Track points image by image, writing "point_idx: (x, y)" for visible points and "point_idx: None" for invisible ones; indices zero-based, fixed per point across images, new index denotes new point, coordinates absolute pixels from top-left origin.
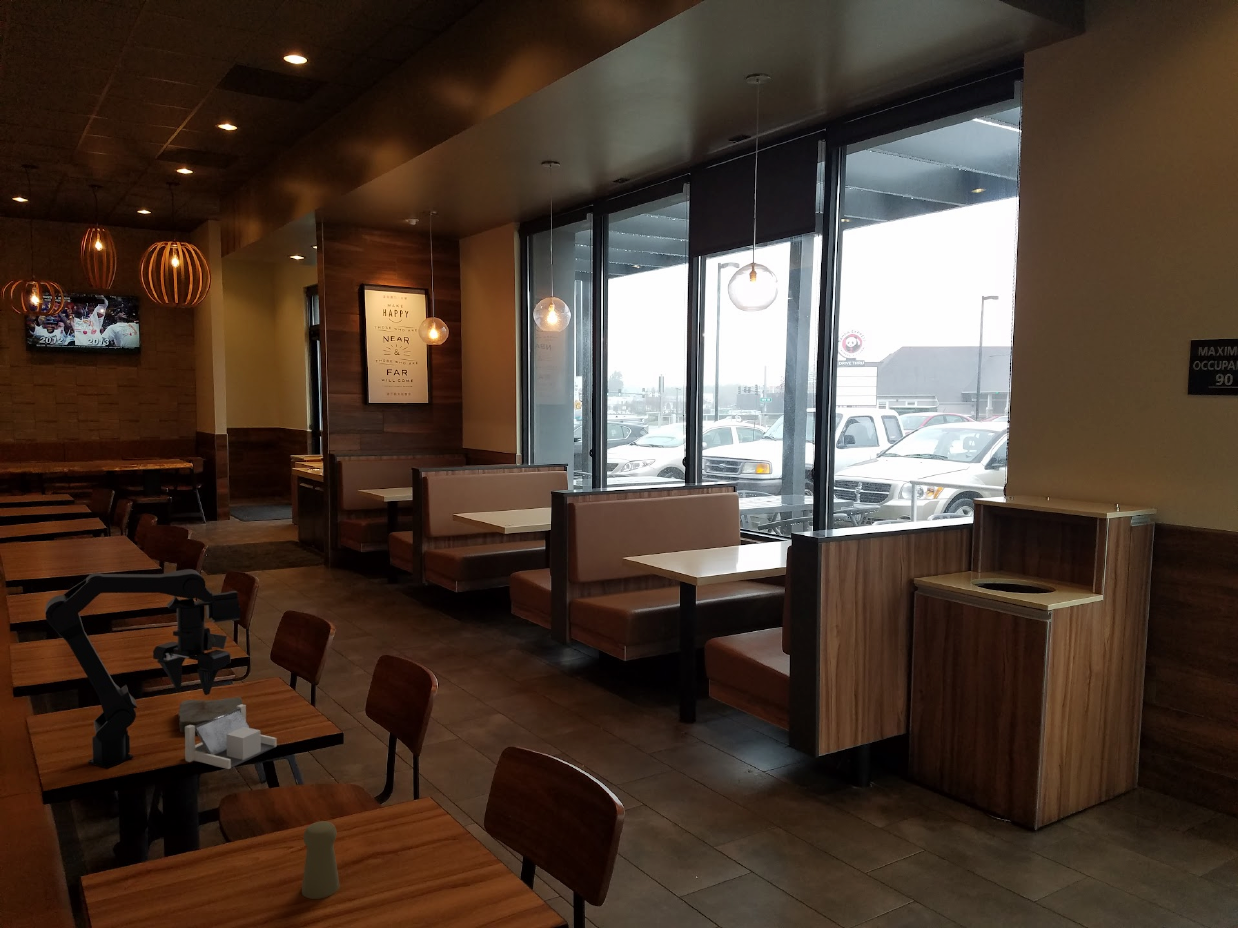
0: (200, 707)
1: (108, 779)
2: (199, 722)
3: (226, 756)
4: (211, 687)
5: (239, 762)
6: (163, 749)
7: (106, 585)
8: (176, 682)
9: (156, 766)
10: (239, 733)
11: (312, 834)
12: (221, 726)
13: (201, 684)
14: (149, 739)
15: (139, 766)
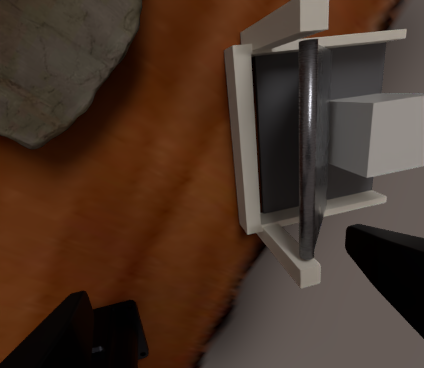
0: None
1: (203, 359)
2: (92, 100)
3: None
4: (402, 235)
5: None
6: (139, 232)
7: None
8: (86, 365)
9: (225, 282)
10: (395, 149)
11: None
12: (319, 157)
13: (419, 329)
14: (22, 224)
15: (193, 304)
